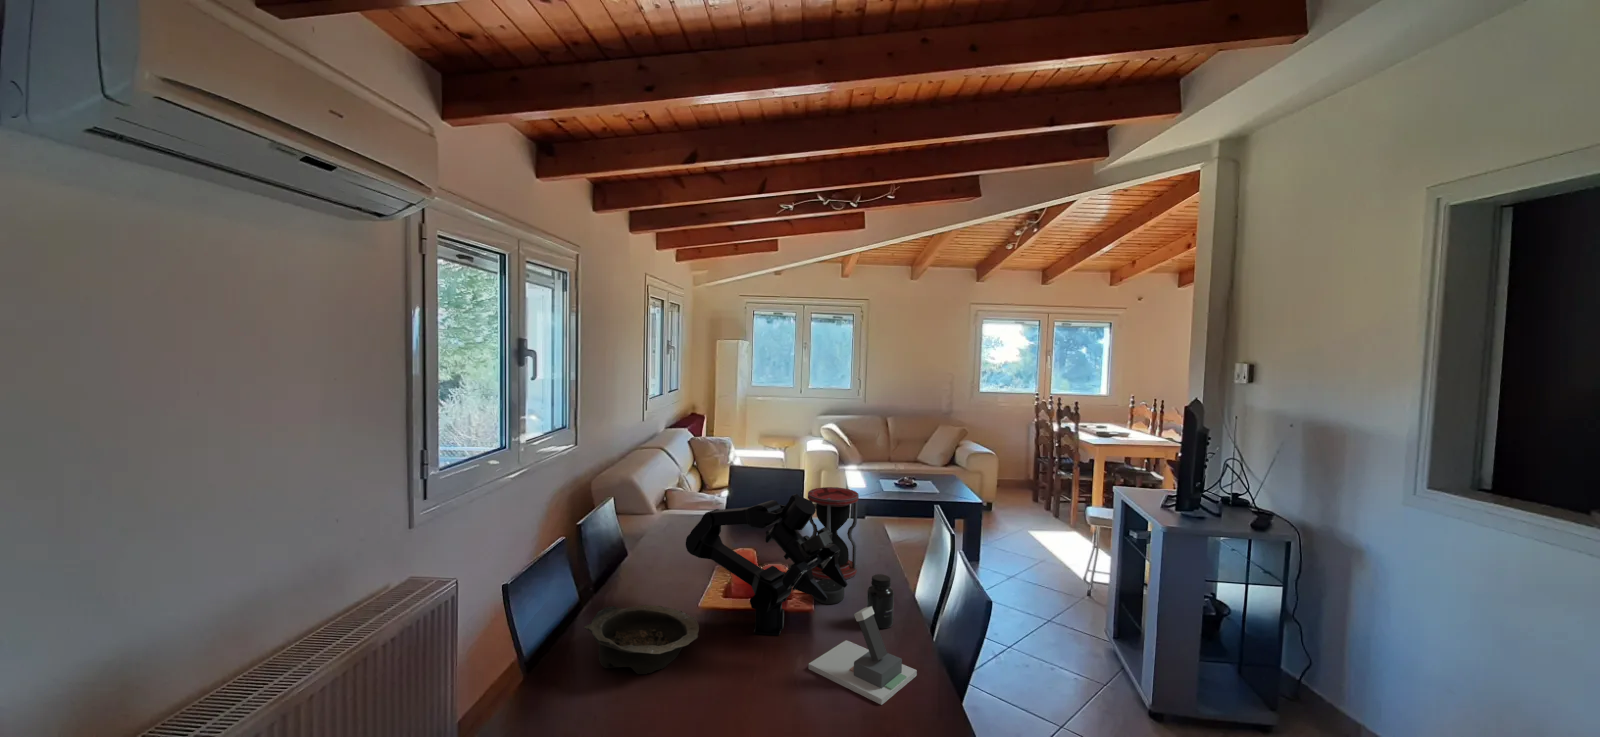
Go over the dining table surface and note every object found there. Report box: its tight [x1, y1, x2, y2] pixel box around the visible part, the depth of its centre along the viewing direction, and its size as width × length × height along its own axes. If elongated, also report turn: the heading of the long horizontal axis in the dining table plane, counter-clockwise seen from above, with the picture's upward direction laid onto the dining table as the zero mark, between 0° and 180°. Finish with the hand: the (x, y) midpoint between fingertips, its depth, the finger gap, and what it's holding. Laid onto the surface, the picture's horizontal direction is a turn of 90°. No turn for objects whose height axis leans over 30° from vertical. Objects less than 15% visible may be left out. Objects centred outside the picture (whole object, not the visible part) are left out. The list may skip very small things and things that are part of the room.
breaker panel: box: [808, 640, 918, 706], centre depth 127 cm, size 19×14×4 cm
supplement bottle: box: [866, 573, 895, 630], centre depth 150 cm, size 7×7×12 cm
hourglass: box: [807, 486, 860, 580], centre depth 184 cm, size 16×16×25 cm
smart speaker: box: [813, 579, 845, 605], centre depth 164 cm, size 9×9×4 cm
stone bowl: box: [583, 604, 700, 675], centre depth 132 cm, size 25×25×9 cm
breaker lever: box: [853, 606, 889, 661], centre depth 126 cm, size 2×4×10 cm, turn 139°
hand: (836, 592), depth 135 cm, fingers open, 9 cm apart
